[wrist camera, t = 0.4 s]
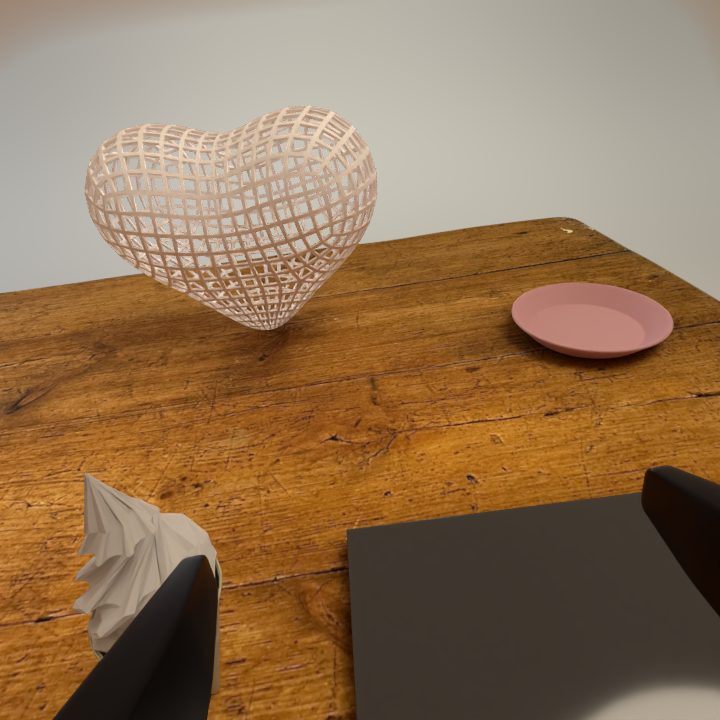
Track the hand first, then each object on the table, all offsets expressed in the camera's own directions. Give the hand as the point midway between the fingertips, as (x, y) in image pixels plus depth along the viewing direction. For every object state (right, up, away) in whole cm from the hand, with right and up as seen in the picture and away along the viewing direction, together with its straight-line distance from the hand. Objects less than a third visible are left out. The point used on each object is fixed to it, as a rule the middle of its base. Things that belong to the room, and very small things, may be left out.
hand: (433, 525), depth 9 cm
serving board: (+8, -11, +13) cm, 19 cm away
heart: (-12, +7, +44) cm, 47 cm away
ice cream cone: (-9, -13, +13) cm, 20 cm away
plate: (+21, +6, +37) cm, 43 cm away
